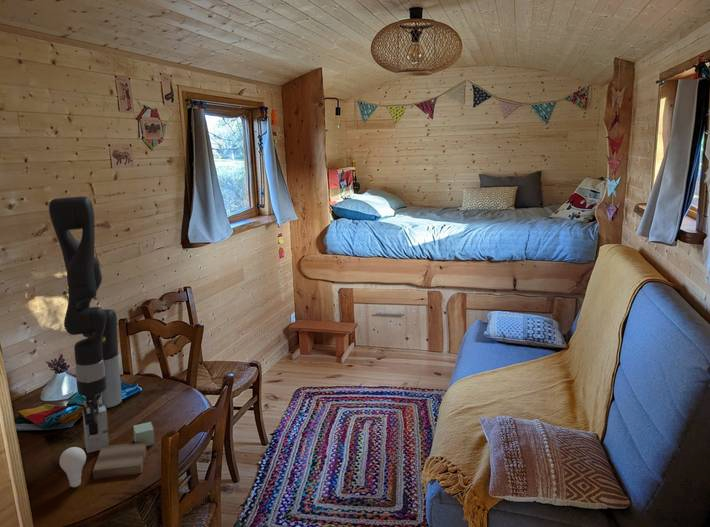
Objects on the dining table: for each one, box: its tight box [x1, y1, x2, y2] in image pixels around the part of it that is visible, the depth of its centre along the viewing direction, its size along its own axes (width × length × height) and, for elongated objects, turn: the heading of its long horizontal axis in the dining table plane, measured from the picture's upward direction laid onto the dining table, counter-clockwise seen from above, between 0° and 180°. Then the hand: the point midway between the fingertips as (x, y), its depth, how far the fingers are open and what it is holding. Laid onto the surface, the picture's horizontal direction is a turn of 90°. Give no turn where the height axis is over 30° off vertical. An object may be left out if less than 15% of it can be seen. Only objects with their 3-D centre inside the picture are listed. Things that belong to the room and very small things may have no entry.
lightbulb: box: [58, 446, 87, 488], centre depth 139 cm, size 6×6×11 cm
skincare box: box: [82, 405, 109, 454], centre depth 157 cm, size 6×4×12 cm
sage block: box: [132, 421, 155, 447], centre depth 161 cm, size 5×5×5 cm
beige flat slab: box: [92, 442, 148, 480], centre depth 151 cm, size 12×12×3 cm
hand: (95, 428), depth 157 cm, fingers closed on skincare box, 5 cm apart
